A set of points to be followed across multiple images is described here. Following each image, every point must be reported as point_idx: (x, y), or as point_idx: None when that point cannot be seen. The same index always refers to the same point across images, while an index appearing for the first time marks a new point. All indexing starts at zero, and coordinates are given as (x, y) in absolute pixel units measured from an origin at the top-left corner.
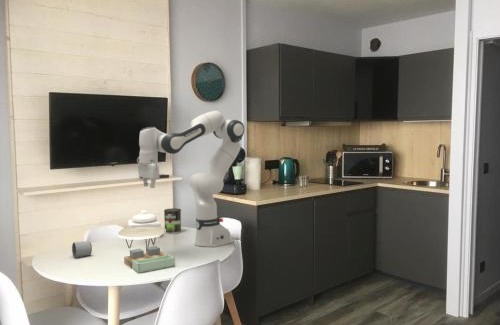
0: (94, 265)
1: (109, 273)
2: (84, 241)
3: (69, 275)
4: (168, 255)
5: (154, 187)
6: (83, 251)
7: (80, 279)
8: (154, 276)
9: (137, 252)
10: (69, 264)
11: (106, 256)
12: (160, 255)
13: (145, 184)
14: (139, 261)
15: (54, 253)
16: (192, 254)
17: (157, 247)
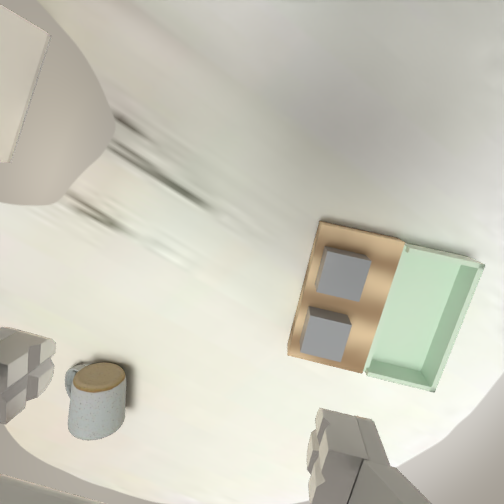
0: (237, 408)
1: None
2: (83, 406)
3: (274, 487)
4: (429, 257)
5: (371, 422)
6: (123, 402)
7: None
8: (492, 361)
9: (344, 346)
10: (173, 443)
11: (170, 339)
12: (381, 263)
13: (28, 389)
14: (374, 347)
15: (26, 416)
16: (400, 109)
17: (354, 261)
